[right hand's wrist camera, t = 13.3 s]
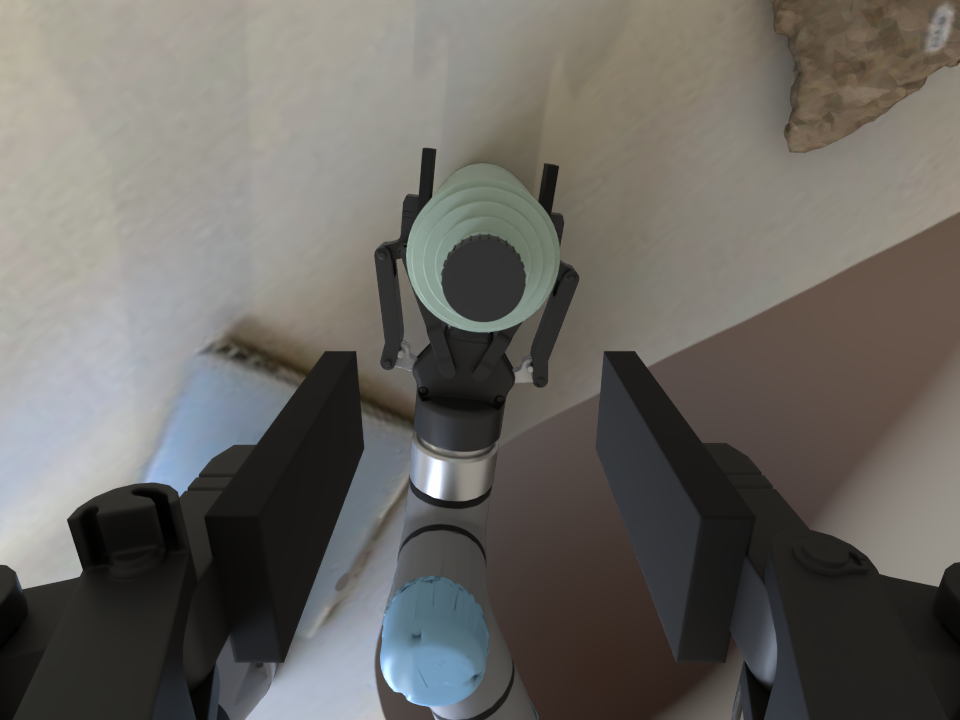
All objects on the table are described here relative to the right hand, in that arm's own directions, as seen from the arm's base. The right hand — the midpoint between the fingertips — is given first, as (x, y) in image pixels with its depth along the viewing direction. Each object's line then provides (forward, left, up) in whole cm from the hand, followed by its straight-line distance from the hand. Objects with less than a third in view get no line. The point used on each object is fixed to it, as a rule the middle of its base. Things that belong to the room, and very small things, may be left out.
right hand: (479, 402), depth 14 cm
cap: (0, 0, -12) cm, 12 cm away
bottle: (0, 0, -37) cm, 37 cm away
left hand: (-3, -4, -30) cm, 31 cm away
